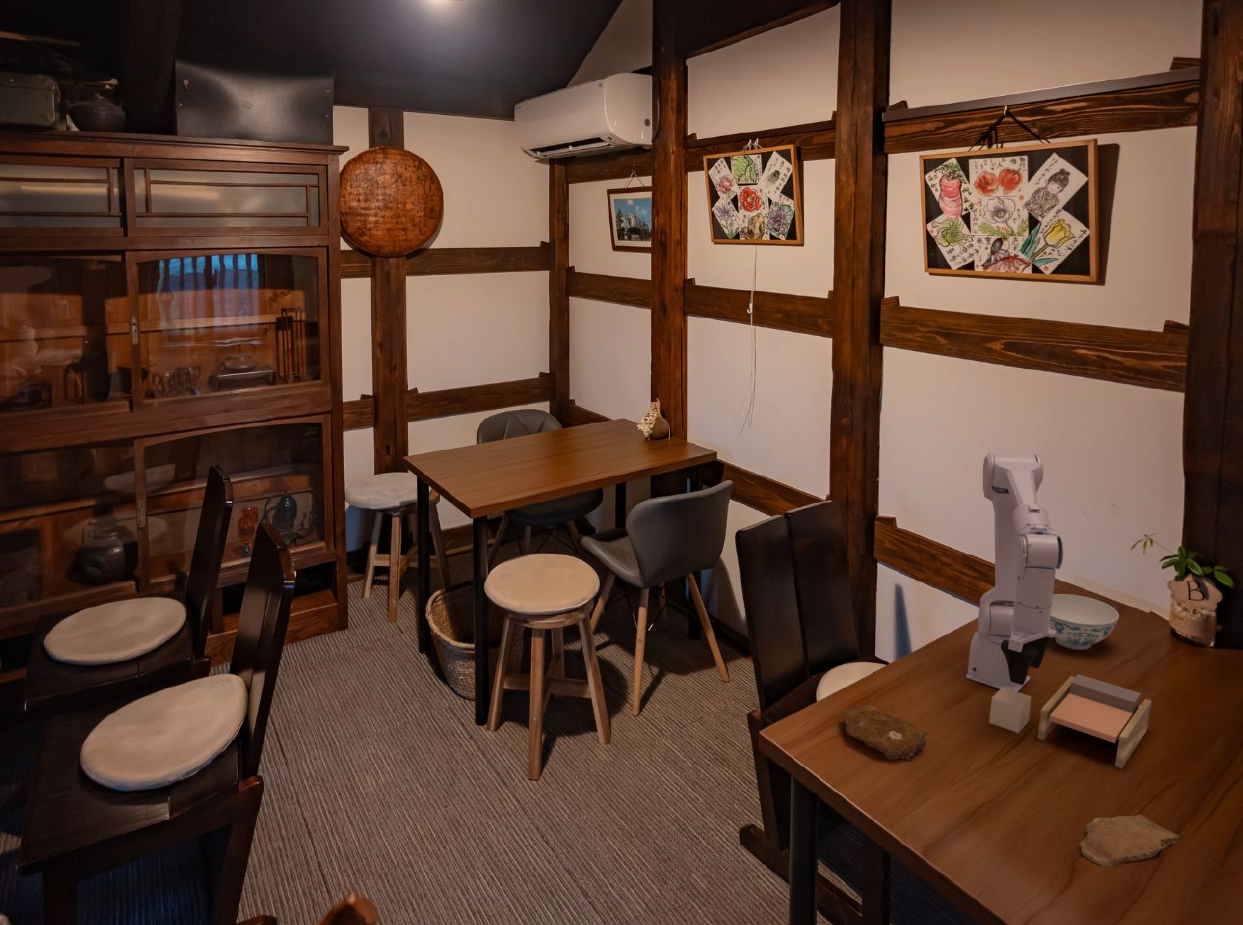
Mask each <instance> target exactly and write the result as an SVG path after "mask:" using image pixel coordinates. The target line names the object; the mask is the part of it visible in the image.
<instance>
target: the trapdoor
mask: <svg viewBox="0 0 1243 925" xmlns="http://www.w3.org/2000/svg"><path fill="white" fill-rule="evenodd" d="M1074 677H1075V678H1074V679H1073V681H1072V682H1071V685H1070V692H1069V694H1068V695H1067V696H1066V697H1065V698H1064V700H1063V701H1062V702H1061V703H1060V704H1059V705H1058V707H1057V708H1056V709H1055V710H1054V711H1053V712H1052V714H1051V715H1050V720H1049V721H1052V722H1055V723H1058V724H1057V725H1061V726H1064V727H1066V728H1070V729H1073V730H1076V731H1079V732H1082V733H1085V734H1087V735H1090V736H1094V737H1095V738H1098V739H1101V740H1105V741H1108V742H1110V743H1114V744H1115V743H1116V742H1117V741H1118V740H1119V736H1120V735H1121V733H1122V732H1123V730H1124V729H1125V727H1126V726H1127V724H1128V723H1129V722H1130V720H1131V719H1132V717H1133V716H1134V714H1135V713H1136V711H1137V710H1138V709H1139V705H1140V702H1141V694H1142V693H1140V692H1138V691H1134V690H1132V689H1130V688H1129V689H1128V688H1126V687H1125V688H1124V687H1121V686H1119V685H1115V684H1112V683H1109V682H1105V681H1102V680H1099V679H1095V678H1091V677H1089V676H1086V675H1085V676H1084V675H1082V674H1077V675H1076V676H1074Z"/></svg>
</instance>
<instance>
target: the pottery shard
mask: <svg viewBox="0 0 1243 925" xmlns="http://www.w3.org/2000/svg"><path fill="white" fill-rule="evenodd" d="M1085 831H1086V836H1085V837H1084V838H1083V839H1082V840H1081V842H1080V843H1079V845H1080V851H1079V852H1080V853H1081V855H1083V857H1085V858H1087V859H1088V860H1090V861H1092V862H1093V863H1094V864H1097V865H1100V866H1102V867H1106V868H1107V867H1112V866H1115V865H1118V864H1125V863H1128V862H1135V861H1142V860H1145V859H1149V858H1152V857H1154V856H1156V855H1157V854H1158V853H1159V852H1160V851H1161V850H1164V849H1165V848H1166V847H1168V846H1170V845H1175V844H1177V843H1178V841H1179V840H1180V836H1179V835H1178V834H1176V833H1175V832H1172V831H1171V830H1168V829H1166V828H1163V827H1162V826H1160V825H1158V824H1157V823H1155V822H1153V821H1151V820H1150V819H1148V818H1147V817H1146V816H1144V815H1143V814H1137V815H1135V816H1133V815H1124V816H1120V815H1117V816H1112V817H1103V816H1102V817H1096V818H1093V820H1092V821H1090V822H1088V823H1085Z"/></svg>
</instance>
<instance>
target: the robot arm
mask: <svg viewBox="0 0 1243 925" xmlns="http://www.w3.org/2000/svg"><path fill="white" fill-rule="evenodd" d="M1043 477H1044V463H1043V458H1042V457H1040V455H1039V454H1034V455H1029V454H1028V455H1025V454H997V453H996V454H994V453H992V452H991V453H990V452H988V453H987V454H986V456H984V459H983V466H982V492H983V498H985V499H987V500H989V501H991V502H992V506H993V515H994V575H995V576H994V579H995V580H994V583H995V584H994V587H992V588H990V589H989V590H988V591H985V593H983V594H982V595H981V597H980V599H979V608H978V616H977V617H978V618H977V619H978V620H977V622H978V630H977V631H976V632H975V633H974V635H972V636H973V637H972V639H971V642H970V647H969V648H970V649H969V655H968V656H969V657H968V669H967V674H966V675H965V678H966V679H968V680H971V681H974V682H977V683H981V684H984V685H987V686H990V687H993V688H995V689H999V690H1000V689H1001V688H1002V687H1004V688H1007V689H1010V690H1013V691H1016V692H1020V690H1021V689H1022V688H1023V687H1024V686H1025V685H1026V684H1027V683H1028V682H1029V681H1030V680H1031V676H1029V670H1030V667H1031V668H1034V669H1036V670H1037V669H1039V668H1040V666H1041V664H1042V662H1043V659H1044V657H1045V654H1046V652H1047V651H1046V650H1047V648H1048V646H1049V644H1050V643H1051V640H1052V639H1053V638H1055V637H1054V636H1055V635H1056V630H1055V629H1053V628H1050V615H1051V607H1052V599H1053V595H1054V589H1055V580H1056V572H1057V571H1056V570H1060V569H1061V567H1062V565H1063V559H1064V542H1063V538H1062V536H1061V535H1060V534H1059V533H1057V531H1054V530H1053V529H1052V525H1051V521H1050V518H1049V514H1048V512H1047V510H1046V508H1045V507H1044V506H1043V505H1041V504H1039V503H1038V497H1037V493H1038V491H1039V488H1040V485H1041V484H1042V483H1043Z"/></svg>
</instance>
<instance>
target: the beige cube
mask: <svg viewBox="0 0 1243 925" xmlns="http://www.w3.org/2000/svg"><path fill="white" fill-rule="evenodd" d="M990 704H991V705H990V712H989V720H988V721H989V724H992V725H995V726H997V727H1000V728H1003V729H1006V730H1008V731H1012V732H1014V733H1016V734H1019V733H1020V732H1021V731H1022V730H1023V729H1024V728H1025V726H1026V725H1027V724H1028V723H1029V722H1030V714H1031V705H1032V696H1031V695H1027V694H1024V693H1022V692H1020V691H1018V692H1016V691H1013V690H1010V689H1007V688H1004V687H1002V688H1001V689H999V690H998V691H997V692H996V693H995V694H994V695H993V696H992V697H991V703H990Z"/></svg>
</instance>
